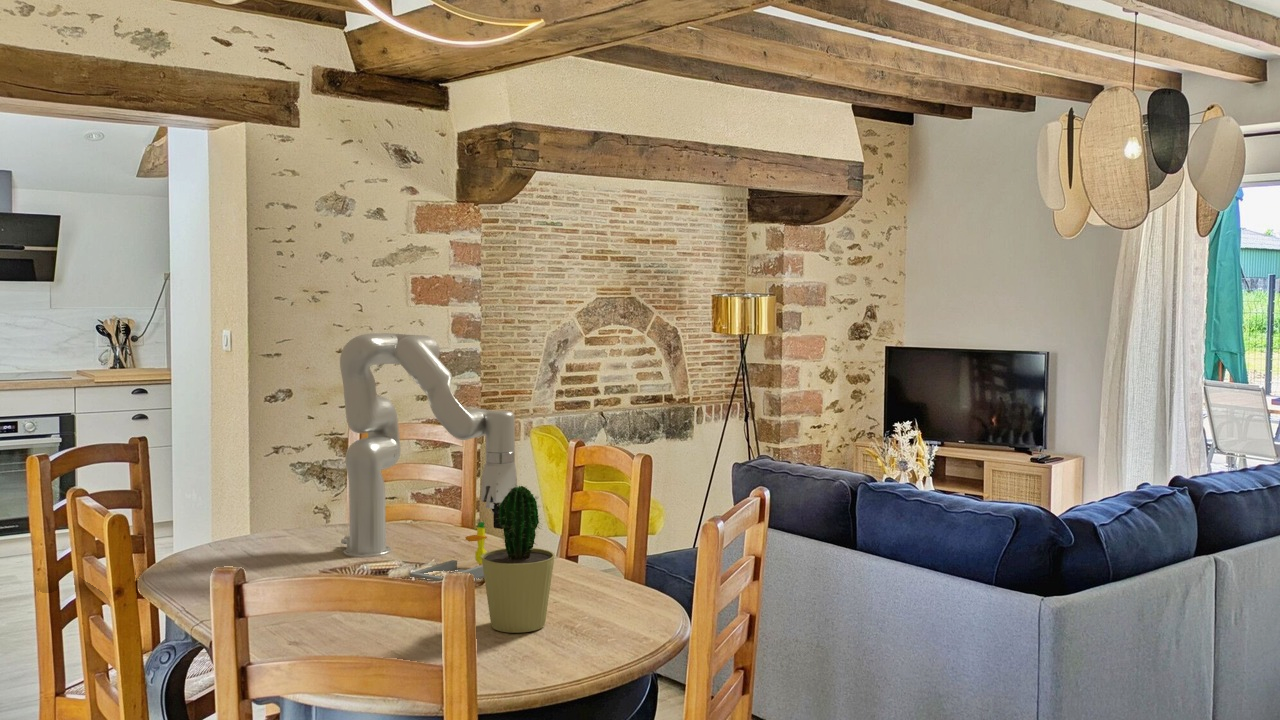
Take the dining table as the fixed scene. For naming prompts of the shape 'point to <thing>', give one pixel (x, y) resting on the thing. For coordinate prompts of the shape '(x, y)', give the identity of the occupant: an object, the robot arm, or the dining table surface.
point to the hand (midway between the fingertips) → (500, 527)
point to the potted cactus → (518, 568)
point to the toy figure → (479, 541)
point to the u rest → (447, 566)
